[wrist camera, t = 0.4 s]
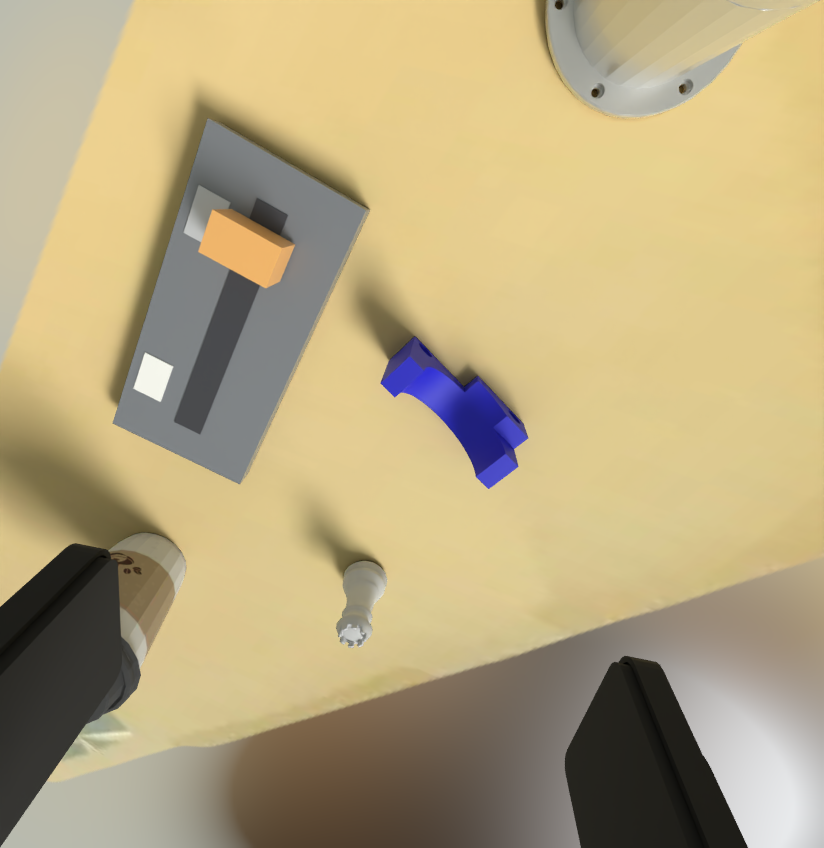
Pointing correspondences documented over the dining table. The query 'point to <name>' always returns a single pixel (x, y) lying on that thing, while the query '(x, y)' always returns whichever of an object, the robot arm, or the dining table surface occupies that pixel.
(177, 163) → the dining table surface
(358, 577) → the rook chess piece
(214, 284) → the switch panel
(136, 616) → the coffee cup
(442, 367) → the blue curved stepped piece
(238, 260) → the switch knob
